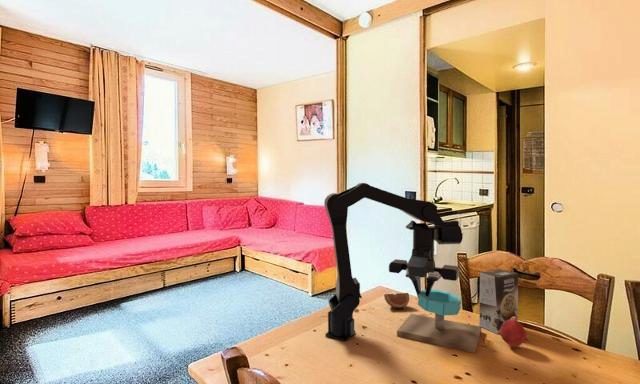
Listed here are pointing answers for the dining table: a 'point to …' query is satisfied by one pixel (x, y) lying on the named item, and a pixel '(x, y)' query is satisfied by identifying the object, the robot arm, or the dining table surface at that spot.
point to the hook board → (441, 332)
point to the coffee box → (497, 298)
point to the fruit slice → (397, 300)
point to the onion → (513, 332)
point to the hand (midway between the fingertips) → (423, 299)
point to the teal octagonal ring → (439, 302)
